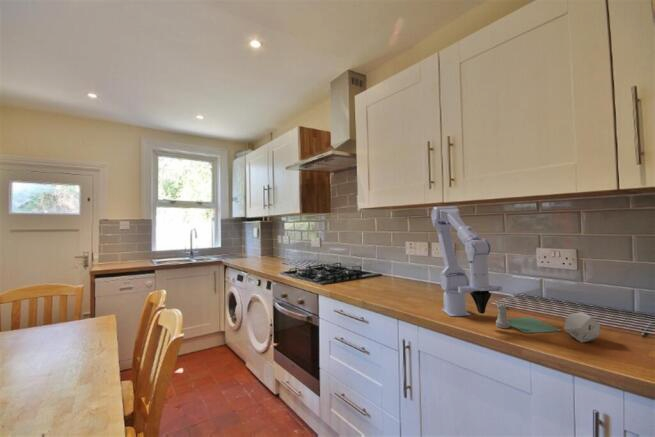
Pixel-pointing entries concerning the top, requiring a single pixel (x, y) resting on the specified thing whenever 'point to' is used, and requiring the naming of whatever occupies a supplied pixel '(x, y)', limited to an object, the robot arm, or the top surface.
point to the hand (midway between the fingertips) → (481, 312)
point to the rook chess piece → (502, 316)
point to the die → (582, 327)
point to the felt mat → (531, 325)
